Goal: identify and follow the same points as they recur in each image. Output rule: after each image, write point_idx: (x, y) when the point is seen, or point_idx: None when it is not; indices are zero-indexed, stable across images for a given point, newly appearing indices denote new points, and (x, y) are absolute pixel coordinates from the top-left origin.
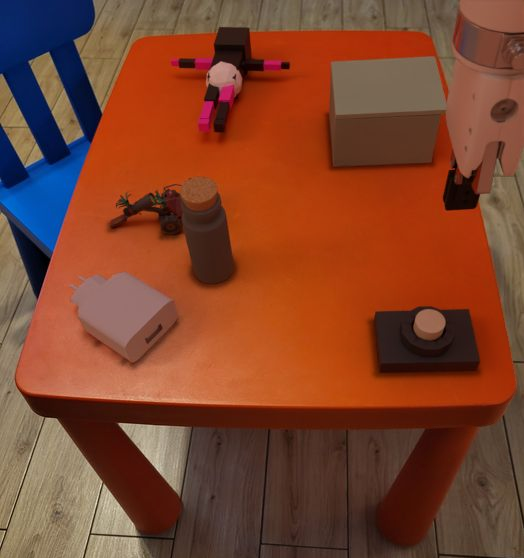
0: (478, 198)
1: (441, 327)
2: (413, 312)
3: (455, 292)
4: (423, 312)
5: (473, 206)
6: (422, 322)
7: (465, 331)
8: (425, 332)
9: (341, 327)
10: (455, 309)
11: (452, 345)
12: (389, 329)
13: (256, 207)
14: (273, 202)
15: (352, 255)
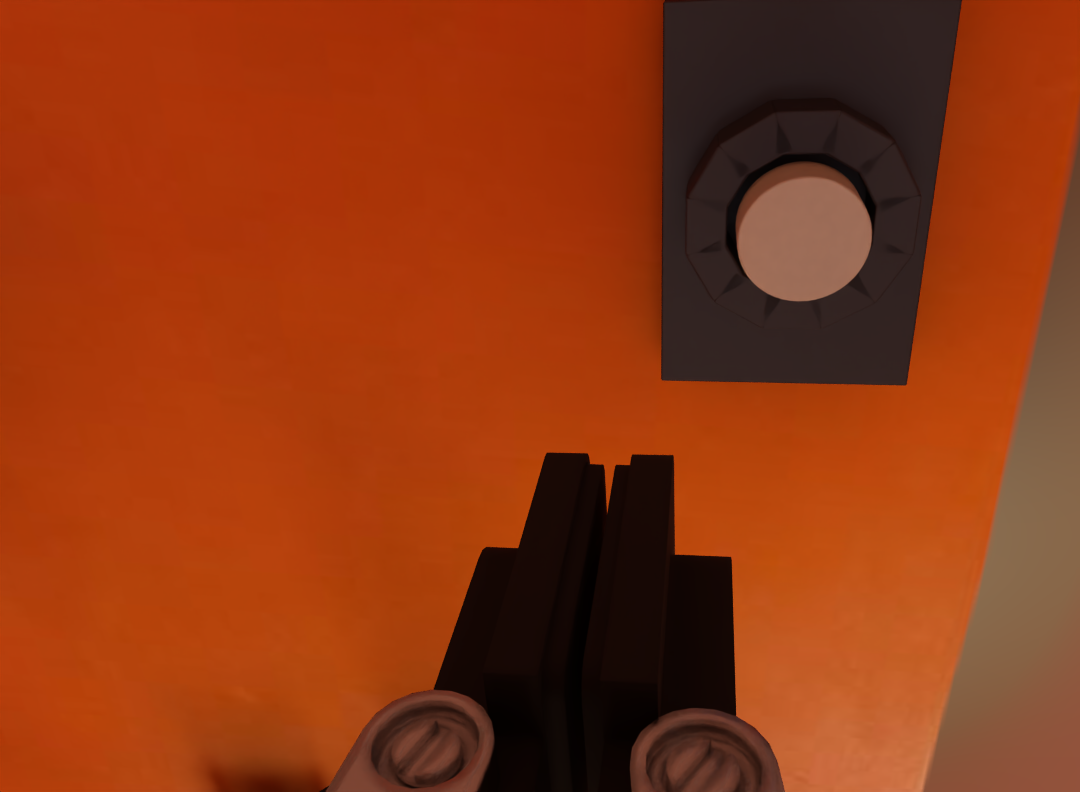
0: (669, 515)
1: (847, 199)
2: (716, 277)
3: (522, 20)
4: (754, 263)
5: (673, 482)
6: (808, 274)
7: (788, 35)
8: (861, 267)
9: (686, 455)
10: (664, 65)
11: (860, 105)
12: (751, 341)
13: (199, 646)
14: (168, 602)
15: (363, 394)
